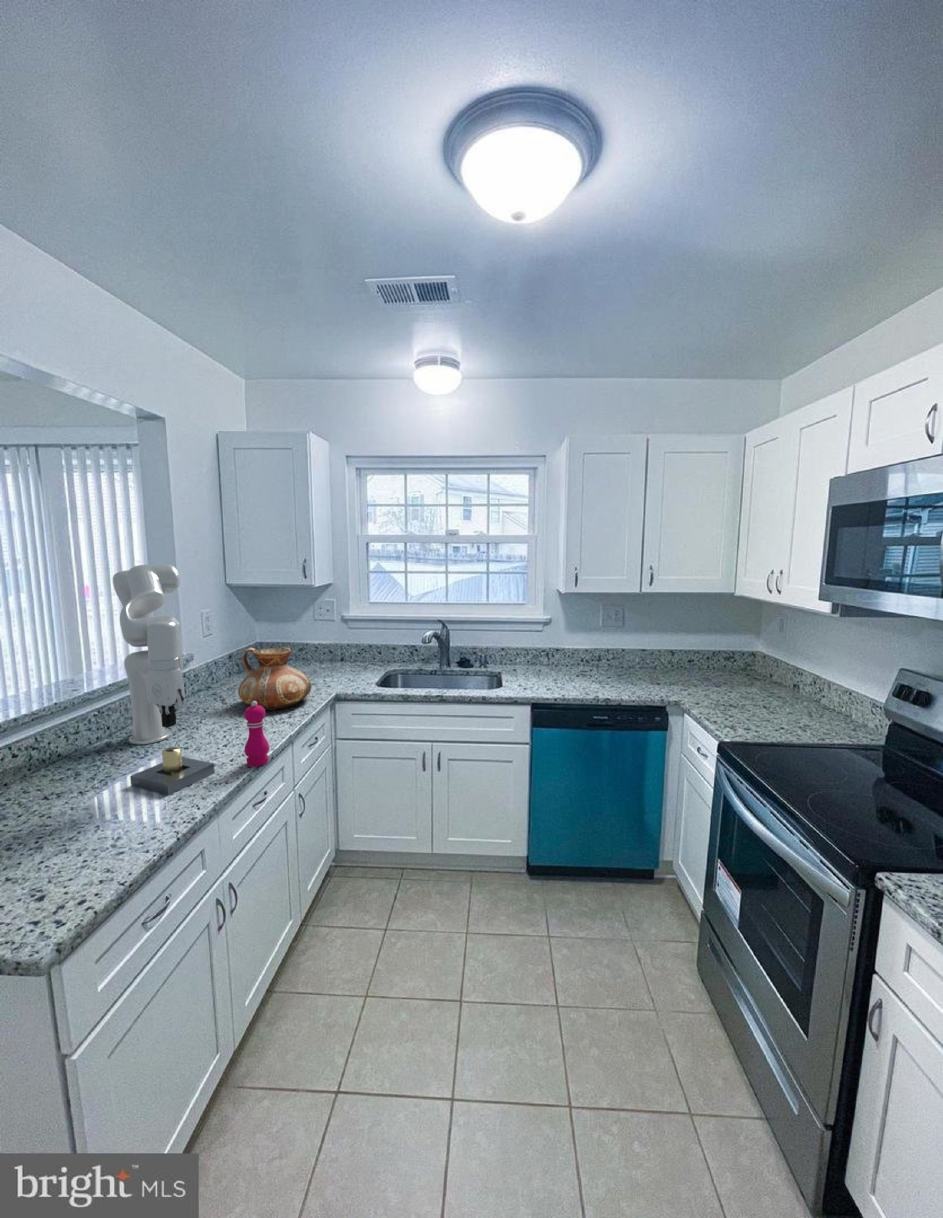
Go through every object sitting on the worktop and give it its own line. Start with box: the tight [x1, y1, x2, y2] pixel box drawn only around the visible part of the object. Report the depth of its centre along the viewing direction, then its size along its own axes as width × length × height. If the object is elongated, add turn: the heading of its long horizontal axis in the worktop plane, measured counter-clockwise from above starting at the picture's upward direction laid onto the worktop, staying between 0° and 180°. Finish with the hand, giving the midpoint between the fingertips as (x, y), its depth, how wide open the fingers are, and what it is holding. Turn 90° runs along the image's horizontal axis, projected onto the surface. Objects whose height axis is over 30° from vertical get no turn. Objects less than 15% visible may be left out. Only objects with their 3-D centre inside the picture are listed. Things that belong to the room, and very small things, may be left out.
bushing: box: [161, 746, 183, 776], centre depth 149 cm, size 5×5×9 cm
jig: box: [130, 756, 215, 796], centre depth 149 cm, size 15×15×3 cm
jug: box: [237, 647, 312, 711], centre depth 221 cm, size 30×30×25 cm
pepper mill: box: [243, 701, 270, 768], centre depth 159 cm, size 7×7×20 cm
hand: (169, 725), depth 148 cm, fingers closed
